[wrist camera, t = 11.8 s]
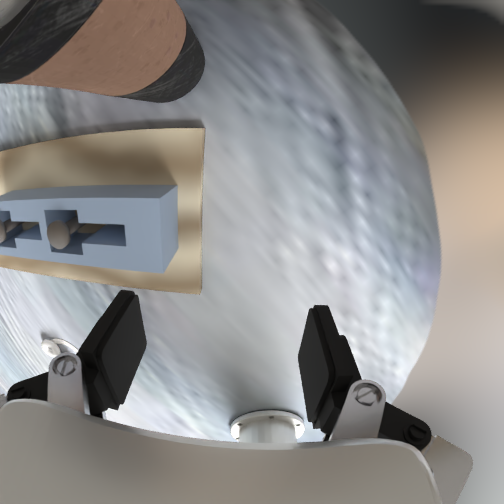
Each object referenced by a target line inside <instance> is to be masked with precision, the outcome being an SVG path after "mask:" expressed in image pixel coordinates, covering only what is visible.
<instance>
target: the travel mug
mask: <svg viewBox="0 0 504 504" xmlns="http://www.w3.org/2000/svg"><path fill="white" fill-rule="evenodd" d="M204 66H205V58H204V53H203V50H202V48H201V46H200V44H199V42H198V40H197V38H196V36H195V34H194V32H193V30H192V28H191V26H190V25H189V23H188V21H187V19H186V17H185V15H184V13H183V12H182V10H181V8H180V7H179V5H178V4H177V2H176V1H175V0H0V83H6V84H24V85H37V86H47V87H56V88H64V89H71V90H78V91H84V92H90V93H96V94H101V95H106V96H114V97H122V98H129V99H136V100H143V101H149V102H157V103H164V102H170V101H174V100H176V99H179V98H181V97H183V96H184V95H186V94H187V93H188V92H190V91H191V90H192V89H193V88H194V87H195V86H196V84H197V83H198V82H199V80H200V78H201V76H202V74H203V71H204Z"/></svg>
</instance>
